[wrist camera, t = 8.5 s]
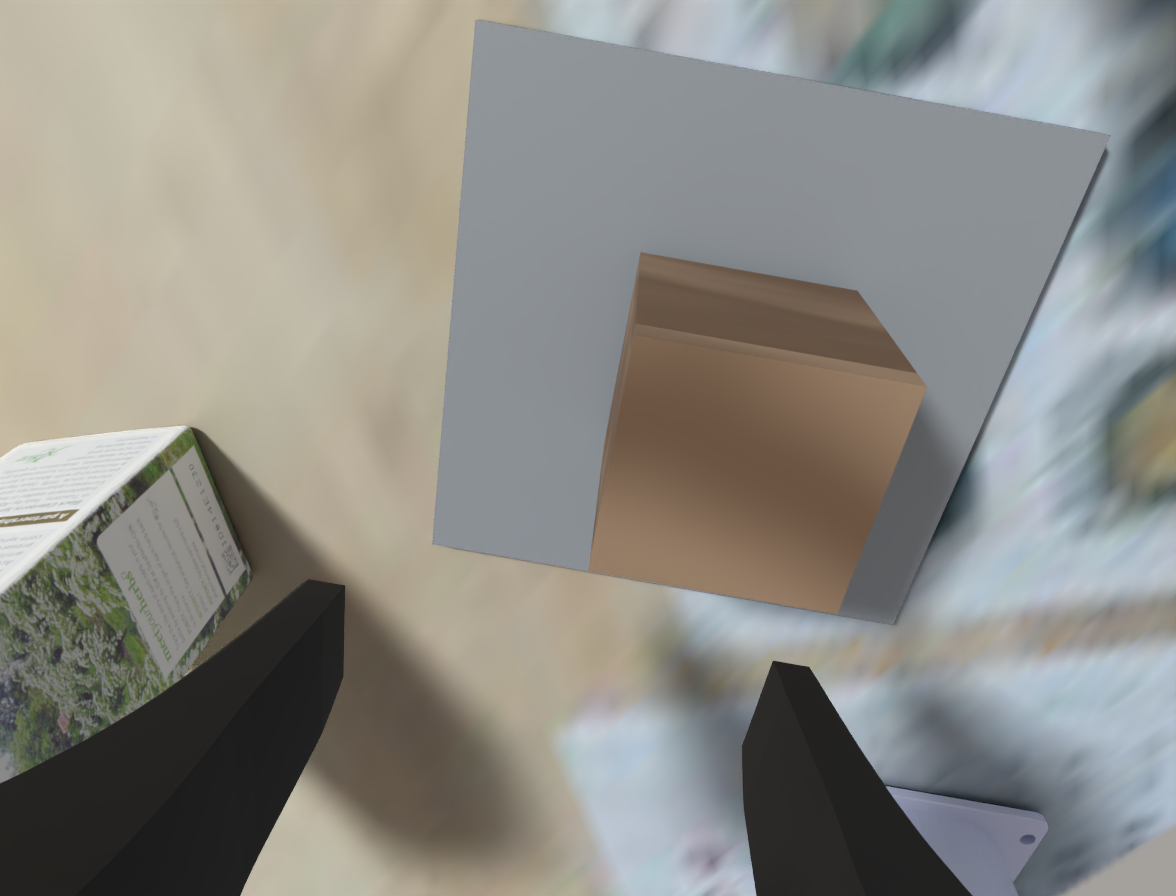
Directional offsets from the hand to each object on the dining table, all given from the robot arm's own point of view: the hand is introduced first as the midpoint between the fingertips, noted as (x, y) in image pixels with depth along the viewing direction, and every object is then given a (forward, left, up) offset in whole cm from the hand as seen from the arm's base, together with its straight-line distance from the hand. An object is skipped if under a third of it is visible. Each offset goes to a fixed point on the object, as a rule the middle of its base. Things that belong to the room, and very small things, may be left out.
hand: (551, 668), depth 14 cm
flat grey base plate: (+2, -3, -10) cm, 11 cm away
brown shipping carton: (+2, -3, -9) cm, 10 cm away
